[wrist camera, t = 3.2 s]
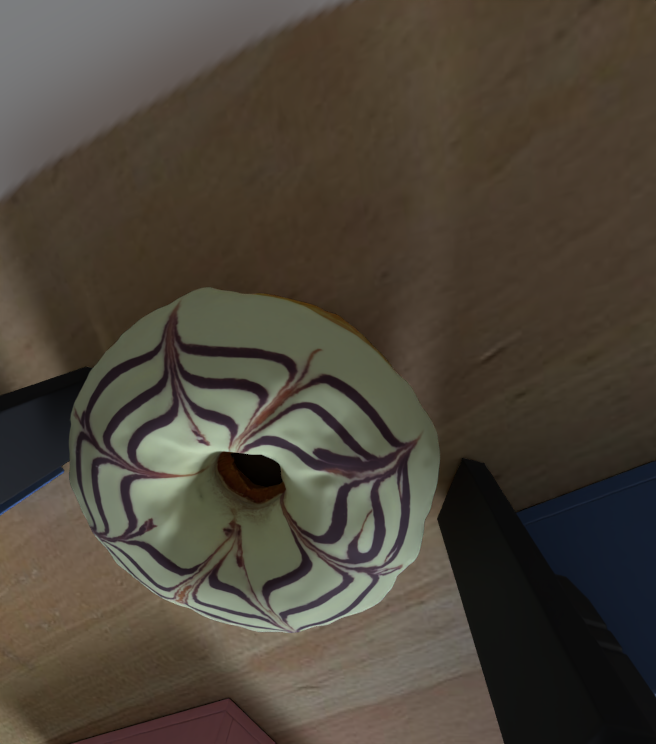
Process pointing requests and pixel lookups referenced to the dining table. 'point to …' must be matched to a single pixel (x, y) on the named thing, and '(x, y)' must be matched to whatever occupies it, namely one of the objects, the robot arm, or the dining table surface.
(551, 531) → the blue bin
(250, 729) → the rose tray
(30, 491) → the blue block
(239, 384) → the decorated donut
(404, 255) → the dining table surface
